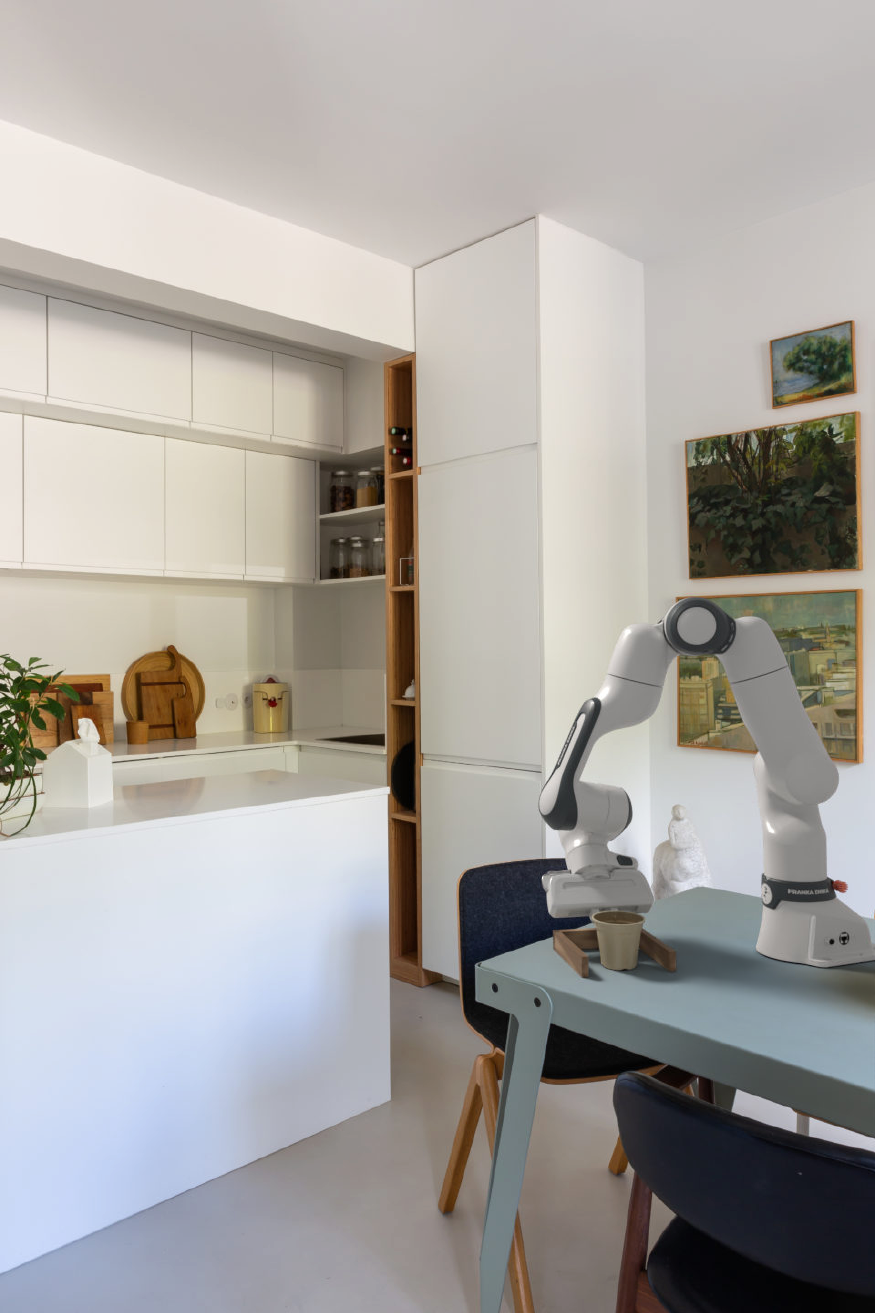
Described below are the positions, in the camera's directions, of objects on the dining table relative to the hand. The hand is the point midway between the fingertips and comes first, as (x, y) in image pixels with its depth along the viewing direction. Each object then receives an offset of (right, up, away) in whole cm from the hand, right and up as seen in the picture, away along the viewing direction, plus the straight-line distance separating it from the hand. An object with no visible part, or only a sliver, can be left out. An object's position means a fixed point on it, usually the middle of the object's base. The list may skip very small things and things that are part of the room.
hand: (609, 933), depth 171 cm
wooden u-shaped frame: (0, -4, -1) cm, 5 cm away
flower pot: (+1, -4, -5) cm, 7 cm away
